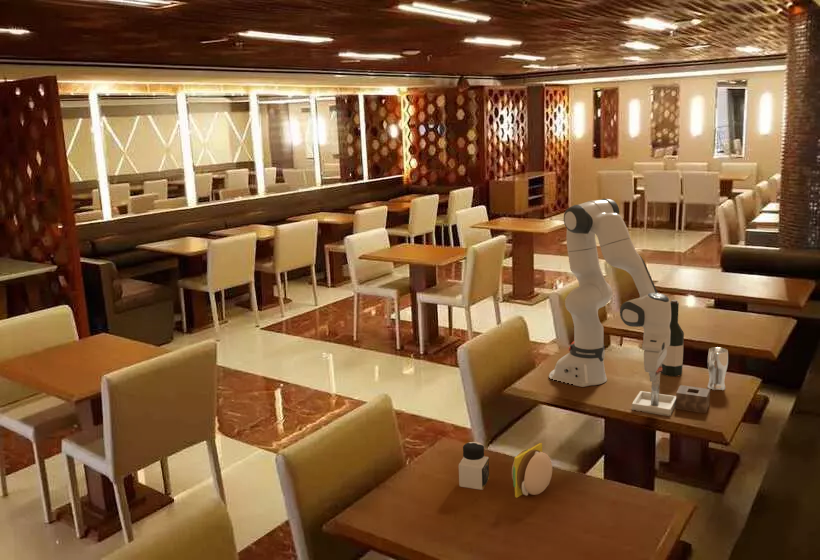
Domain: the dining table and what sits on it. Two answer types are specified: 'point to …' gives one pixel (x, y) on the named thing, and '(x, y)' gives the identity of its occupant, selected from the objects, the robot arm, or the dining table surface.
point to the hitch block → (692, 399)
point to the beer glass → (717, 367)
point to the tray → (644, 405)
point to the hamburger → (531, 471)
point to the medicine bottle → (473, 467)
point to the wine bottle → (674, 345)
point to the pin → (656, 388)
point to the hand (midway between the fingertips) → (655, 376)
